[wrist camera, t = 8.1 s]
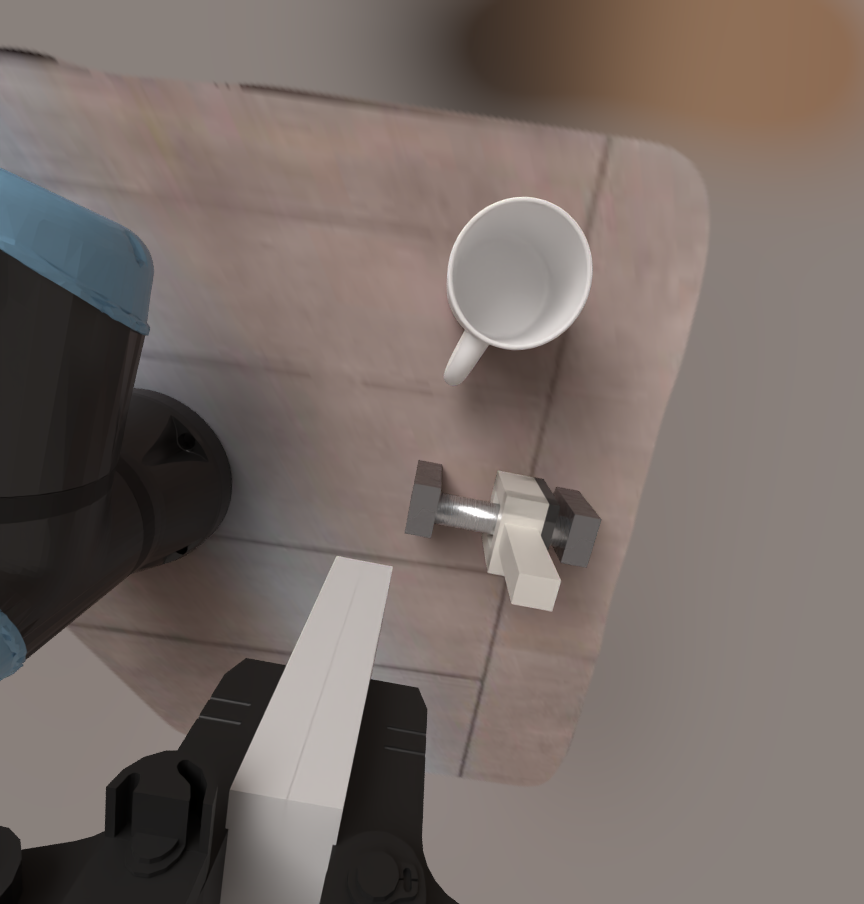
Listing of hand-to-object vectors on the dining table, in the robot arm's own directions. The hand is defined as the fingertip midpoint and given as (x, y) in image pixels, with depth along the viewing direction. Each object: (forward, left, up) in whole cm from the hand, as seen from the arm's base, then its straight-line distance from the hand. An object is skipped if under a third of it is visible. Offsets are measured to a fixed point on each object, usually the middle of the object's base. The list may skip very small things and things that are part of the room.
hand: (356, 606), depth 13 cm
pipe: (+8, -6, -28) cm, 30 cm away
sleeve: (+9, -6, -26) cm, 29 cm away
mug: (+4, +9, -29) cm, 30 cm away
